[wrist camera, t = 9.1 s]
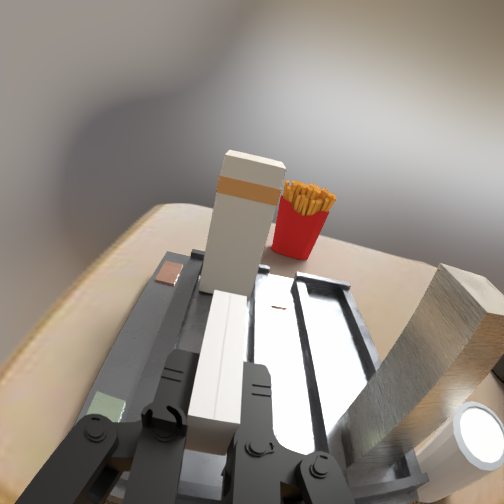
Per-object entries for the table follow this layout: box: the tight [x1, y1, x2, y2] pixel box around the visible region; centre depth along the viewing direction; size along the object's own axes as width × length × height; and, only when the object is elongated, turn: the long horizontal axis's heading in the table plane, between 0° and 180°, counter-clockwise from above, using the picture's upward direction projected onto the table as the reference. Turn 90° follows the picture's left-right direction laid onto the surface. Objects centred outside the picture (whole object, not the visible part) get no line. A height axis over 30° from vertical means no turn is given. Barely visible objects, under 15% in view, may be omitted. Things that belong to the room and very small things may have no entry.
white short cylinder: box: [415, 401, 504, 503], centre depth 13 cm, size 7×7×7 cm
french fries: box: [272, 180, 336, 260], centre depth 46 cm, size 8×4×12 cm, turn 82°
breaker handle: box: [199, 150, 286, 301], centre depth 27 cm, size 5×4×13 cm
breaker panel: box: [74, 249, 504, 504], centre depth 20 cm, size 22×27×16 cm
